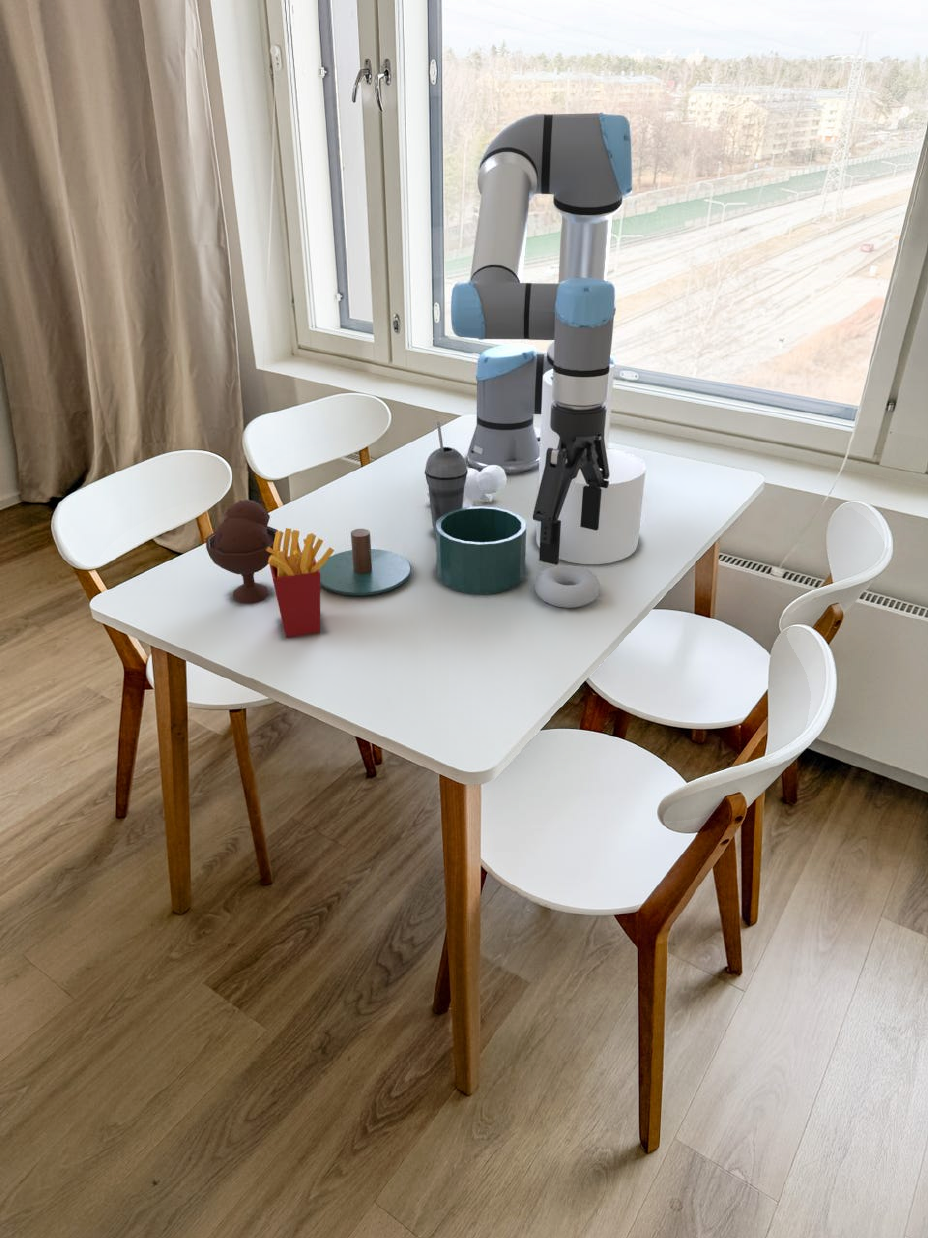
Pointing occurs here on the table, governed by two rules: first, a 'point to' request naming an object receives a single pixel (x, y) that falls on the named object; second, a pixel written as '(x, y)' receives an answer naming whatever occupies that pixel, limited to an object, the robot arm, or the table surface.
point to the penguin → (482, 484)
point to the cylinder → (616, 500)
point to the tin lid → (363, 568)
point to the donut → (567, 586)
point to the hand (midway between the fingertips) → (569, 544)
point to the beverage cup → (445, 480)
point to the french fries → (297, 582)
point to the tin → (480, 549)
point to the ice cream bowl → (243, 547)
